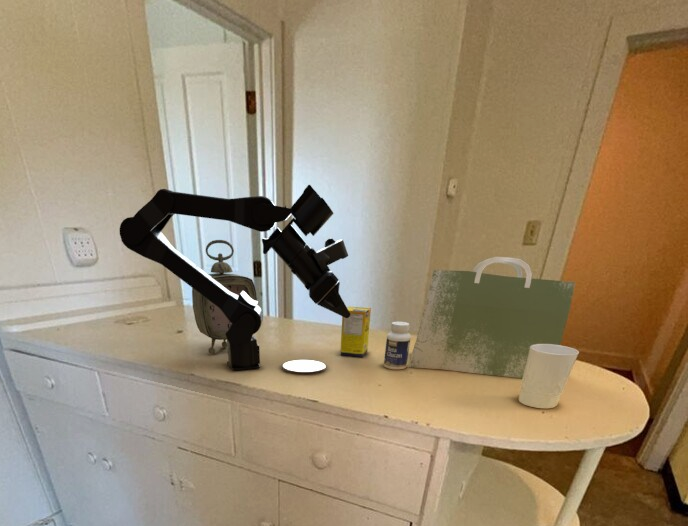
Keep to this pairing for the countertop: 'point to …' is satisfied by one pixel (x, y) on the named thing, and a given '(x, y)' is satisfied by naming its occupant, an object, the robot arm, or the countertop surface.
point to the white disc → (304, 367)
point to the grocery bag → (489, 319)
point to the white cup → (546, 374)
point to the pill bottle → (397, 346)
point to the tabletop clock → (208, 313)
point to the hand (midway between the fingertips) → (346, 312)
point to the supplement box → (355, 332)
